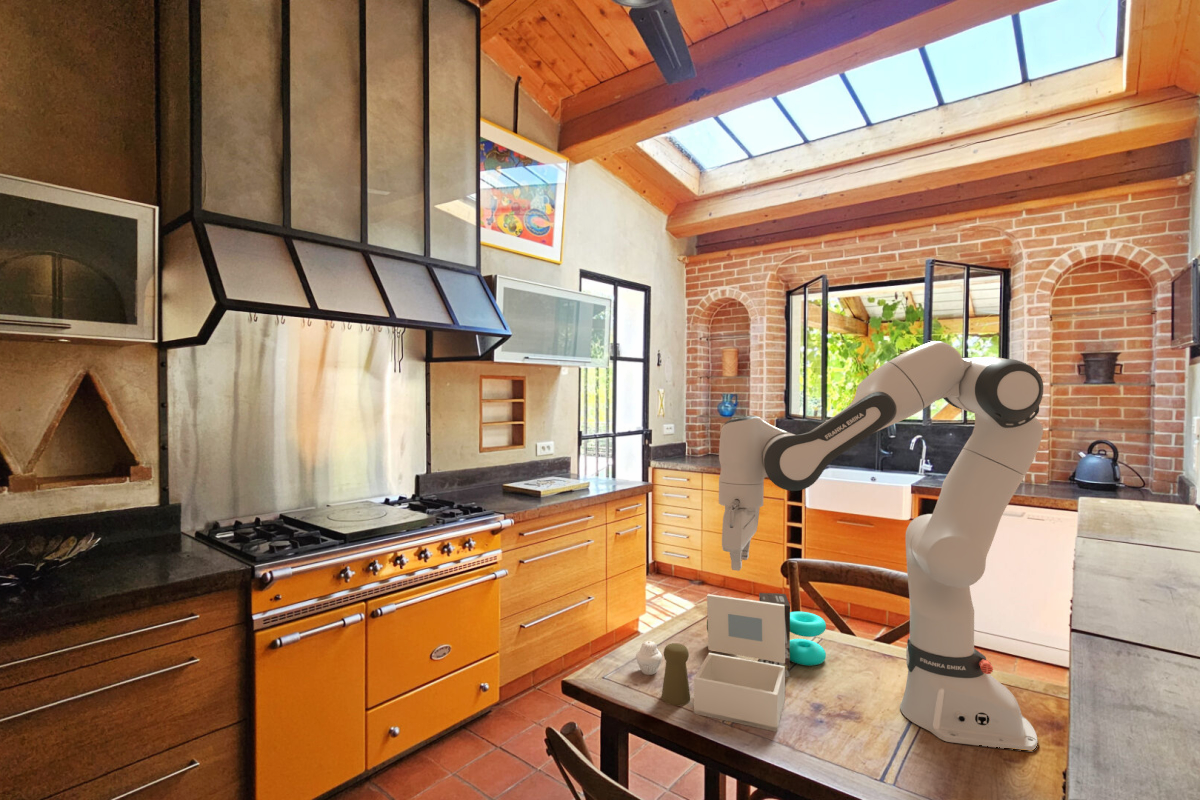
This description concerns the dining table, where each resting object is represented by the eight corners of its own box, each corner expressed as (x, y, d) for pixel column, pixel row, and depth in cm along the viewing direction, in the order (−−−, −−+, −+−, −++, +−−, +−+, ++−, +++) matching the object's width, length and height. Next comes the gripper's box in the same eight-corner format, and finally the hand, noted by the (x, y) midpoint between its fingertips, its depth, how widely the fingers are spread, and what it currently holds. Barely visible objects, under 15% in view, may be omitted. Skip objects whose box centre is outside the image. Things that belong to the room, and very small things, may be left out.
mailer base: (784, 699, 123) (784, 666, 123) (777, 731, 112) (777, 694, 112) (708, 684, 130) (708, 652, 130) (693, 713, 118) (693, 678, 118)
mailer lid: (784, 663, 123) (785, 661, 124) (784, 606, 121) (784, 604, 122) (708, 650, 129) (709, 648, 130) (706, 595, 128) (707, 594, 128)
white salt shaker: (630, 670, 137) (630, 640, 137) (650, 663, 140) (650, 633, 140) (647, 680, 132) (648, 649, 132) (668, 673, 135) (668, 642, 135)
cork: (696, 697, 124) (696, 645, 124) (679, 708, 120) (679, 654, 120) (672, 688, 128) (672, 637, 128) (655, 698, 124) (655, 645, 124)
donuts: (823, 611, 147) (828, 626, 137) (822, 651, 147) (828, 669, 137) (781, 608, 149) (783, 622, 140) (781, 647, 149) (783, 665, 140)
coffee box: (790, 677, 133) (790, 606, 133) (761, 675, 135) (761, 604, 134) (786, 660, 142) (786, 593, 142) (758, 657, 143) (758, 591, 143)
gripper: (748, 505, 109) (747, 580, 109) (764, 489, 128) (763, 553, 128) (714, 503, 111) (713, 576, 111) (734, 487, 130) (734, 550, 130)
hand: (740, 564), depth 120 cm, fingers open, 7 cm apart
